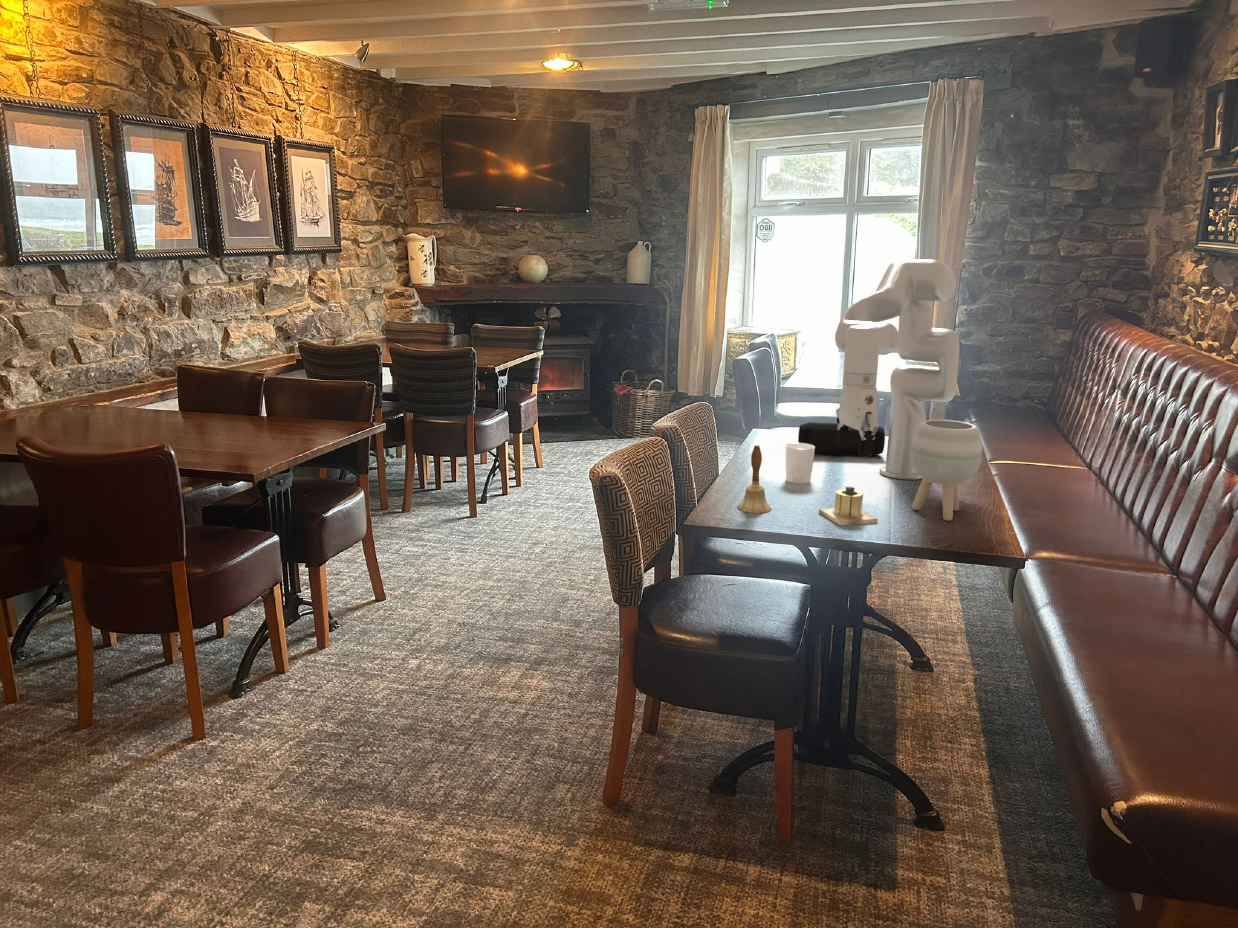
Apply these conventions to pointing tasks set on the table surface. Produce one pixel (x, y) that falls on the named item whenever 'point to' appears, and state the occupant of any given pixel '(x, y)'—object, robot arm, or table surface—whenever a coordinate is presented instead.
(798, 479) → the white cup
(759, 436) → the table surface
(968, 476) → the planter
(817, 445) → the portable speaker
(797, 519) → the table surface
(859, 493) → the collar
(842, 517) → the post stand
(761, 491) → the hand bell
